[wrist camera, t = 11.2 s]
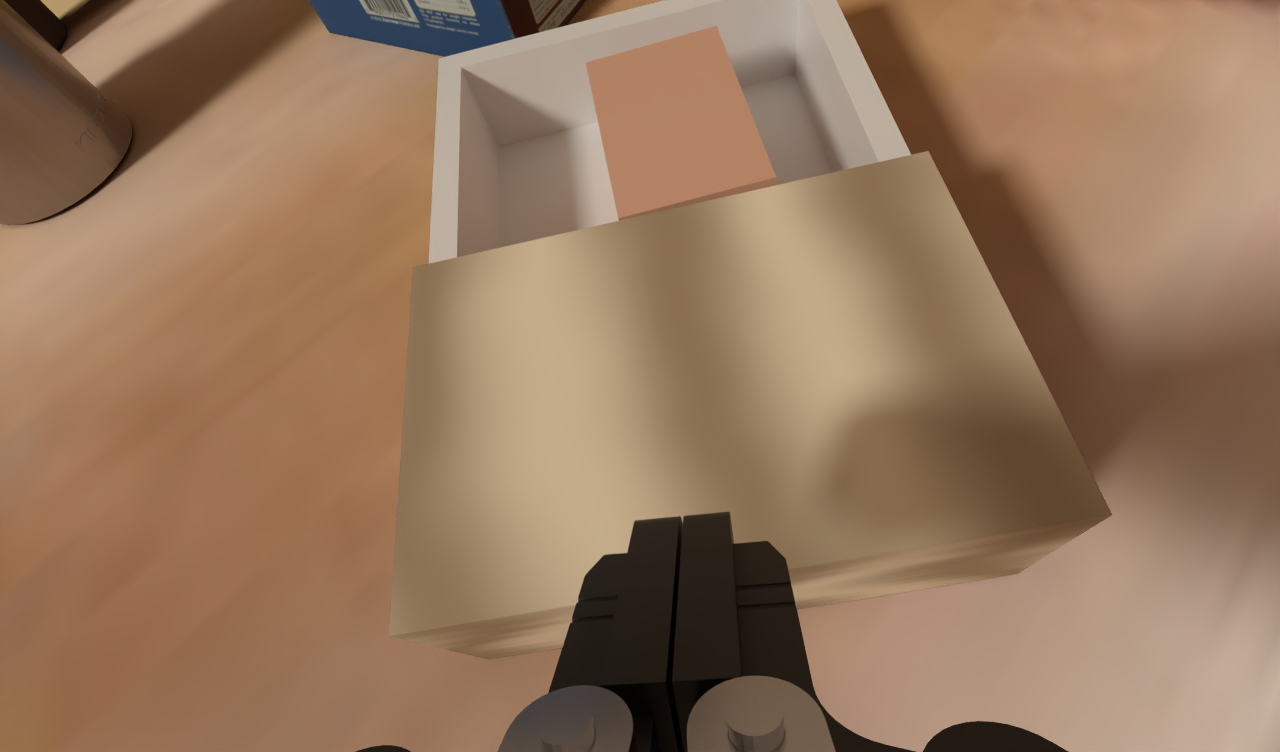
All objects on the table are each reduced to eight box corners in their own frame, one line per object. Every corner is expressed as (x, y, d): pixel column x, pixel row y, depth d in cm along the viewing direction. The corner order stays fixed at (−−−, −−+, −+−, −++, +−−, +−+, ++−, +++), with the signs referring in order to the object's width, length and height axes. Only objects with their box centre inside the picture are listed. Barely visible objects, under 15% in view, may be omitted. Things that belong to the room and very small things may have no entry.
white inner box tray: (486, 356, 26) (427, 281, 21) (484, 149, 32) (438, 58, 27) (893, 271, 24) (919, 171, 20) (810, 71, 30) (817, -40, 26)
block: (618, 218, 20) (585, 62, 24) (645, 308, 24) (614, 163, 28) (776, 177, 20) (716, 25, 24) (775, 275, 24) (725, 133, 28)
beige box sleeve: (488, 659, 20) (389, 635, 15) (486, 360, 25) (412, 267, 20) (1017, 573, 18) (1112, 514, 13) (894, 275, 24) (928, 151, 19)
